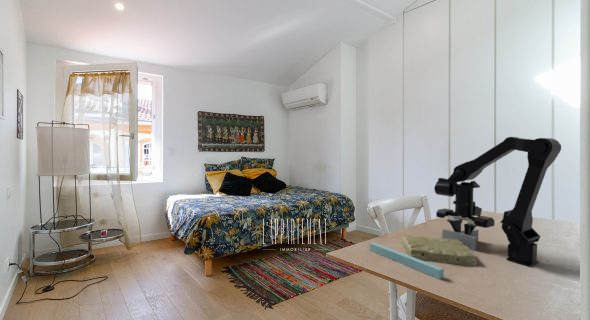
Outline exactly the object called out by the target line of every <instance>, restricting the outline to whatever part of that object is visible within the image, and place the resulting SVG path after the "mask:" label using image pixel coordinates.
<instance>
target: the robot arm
mask: <svg viewBox="0 0 590 320" xmlns="http://www.w3.org/2000/svg"><path fill="white" fill-rule="evenodd" d="M561 150H562V145H561V143H560V142H559V140H557V139H555V138H549V137H547V138H546V137H539V138H535V139H531V138H522V137H521V138H520V137H517V136H509V137H506V138H505V139H504V140H503V141H500V142H499V143H498V144H496V145H494V146H493V147H492V148H490V149H488V150H487V151H485V152H484V153H482V154H481V155H479V156H478V157H476V158H474V159H472V160H469V161H466V162H463V163H461V164H458V165H456V166H455V167H454V168H453V172H452V174H451V175H450V176H449V177H448V178H445V177H438V178H437V182H436V183H435V185H434V187H433V188H434V189H433V190H434V193H435V194H436V195H438V196H444V197H454V196H455V197H454V199H455V200H453V202H452V204H453V205H454V209H449V208H441V209H437V211H436V213H435V214H436V218H440V219H444V218H445V217H448V219H446V222H448V223H449V224H450V226H451V228H452V231H455V232H460V231H462V223H463V221H467V222H466V223H464V224H463V229H464V230H463V231H464V232H465V234H466V235H470V236H471V234H472V231H473V230H474V229H476V227H479V228H480V227H481V228H483V229H484V228H485V229H488V228H491V227H494V226H495V220H494V218H493V217H490V216H486V215H482V211H483V208H482V207H479V206H477V205H476V201H474V189H477V188H481V185H480V184H478V182H476V181H475V180H474V179H476V177H478V176H479V175H480V174H481V173H482V172H483V171H484V170H485V169H486V168H487V167H490V166H491V165H492V164H494V163H496V162H497V161H499V160H500V159H503V158H504V157H505V156H507V155H509V154H511V153H513V152H515V151H519V152H524V153H527V156H526V157H527V162H528V163H527V164H528V166H527V169H526V171H525V172H526V173H525V175H524V178H523V181H522V184H521V187H520V190H519V192H518V196H517V198H516V200H515V204H514V207H513V208H512V209H510V210H509V209H508V210H506V211H504V212H503V216H502V219H501V221H500V222H499V223H500V224H501V230H502V231H503V233H504V234H505V236H506V239H507V241H508V244H507V257H506V261H509V262H510V261H511V262H513V263H517V264H520V265H523V266H527V267H533V266H535V265H537V264H538V263H540V261H539V260H538V258H537V257H538V244H537V243H538V242H539V240H541V239H540V238H541V235H540V234H538V232H537V231H536V230H535V229H534V228H533V220H534V219H533V209H534V206H535V203H536V201H537V197H538V195H539V193H540V192H539V191H540V189H541V186H542V183H543V182H544V178H545V177H546V172H547V171H548V169H549V168H550V166H551V165H552V164H553V163H554V161H555V160H556V159H557V157H558V156H559V154H560V153H561ZM466 181H467V182H466ZM469 181H470V182H469Z"/></svg>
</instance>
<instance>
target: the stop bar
mask: <svg viewBox="0 0 590 320" xmlns="http://www.w3.org/2000/svg"><path fill="white" fill-rule="evenodd" d="M370 250H371V252H374V253H375V254H378V255H380V256H382V257H384V258H388V259H390V260H392V261H395V262H397V263H399V264H402V265H404V266H406V267H409V268H412V269H413V270H415V271H419V272H421V273H423V274H426V275H428V276H431V277H433V278H436V279H437V280H441V279H443V278H444V277H445V276H444V274H445V272H444V271H445V269H444V268H443V267H440V266H437V265H435V264H433V263H430V262H427V261H426V260H419V259H417V258H414V257H411V256H409V255H408V254H407V253H403V252H401V251H398V250H396V249H393V248H390V247H388V246H385V245H382V244H379V243H377V242H375V241H374V242H370V243H369V251H370Z"/></svg>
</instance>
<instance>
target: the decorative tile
mask: <svg viewBox="0 0 590 320" xmlns="http://www.w3.org/2000/svg"><path fill="white" fill-rule="evenodd" d="M400 241H401V242H402V243H401V244H403V245H402V246H403V249H404V250H405V252H406V255H409V256H411V257H414V258H417V259H419V260H422V261H431V262H439V263H444V264H455V265H469V266H478V262H477V261H478V260H477V256H476V254H474V252H472V250H470V249H469V248H468V247H467V246H464V244H463V243H462V242H460V241H459V240H457V239H445V238H442V237H427V236H413V235H403V236H401V240H400Z"/></svg>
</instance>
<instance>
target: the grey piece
mask: <svg viewBox="0 0 590 320" xmlns="http://www.w3.org/2000/svg"><path fill="white" fill-rule="evenodd" d="M441 231H442V232H441V233H442V235H441V236H442V237H441V238H445V239H457V240H459V241H460V242H462V243H463V244H464V246H467V247H468V248H469V250H470V251H478V242H479V232H480V230H479V229H476V228H474V230H473V231H472V234H471V236H470V235H466V234H465V232H464V230H461V231H460V232H455V231H454V230H450V229H447V228H443V229H442V230H441Z"/></svg>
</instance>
